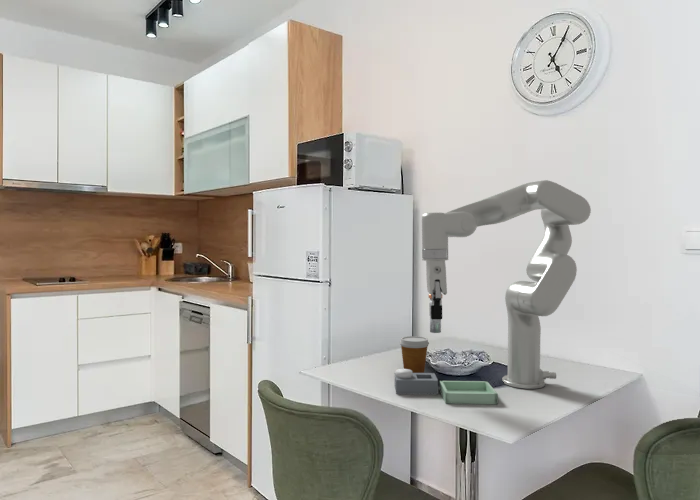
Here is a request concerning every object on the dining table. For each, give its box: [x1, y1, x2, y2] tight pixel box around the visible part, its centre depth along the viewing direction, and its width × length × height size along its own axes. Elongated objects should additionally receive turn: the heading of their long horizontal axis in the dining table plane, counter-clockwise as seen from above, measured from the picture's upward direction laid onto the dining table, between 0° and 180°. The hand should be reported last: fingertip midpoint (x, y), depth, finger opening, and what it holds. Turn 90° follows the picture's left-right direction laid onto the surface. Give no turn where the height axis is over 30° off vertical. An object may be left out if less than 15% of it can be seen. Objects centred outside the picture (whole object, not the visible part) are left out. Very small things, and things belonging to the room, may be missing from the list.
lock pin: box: [428, 293, 443, 334], centre depth 150 cm, size 4×4×11 cm
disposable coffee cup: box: [399, 335, 430, 373], centre depth 167 cm, size 10×10×12 cm
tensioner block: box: [394, 368, 439, 395], centre depth 152 cm, size 12×8×6 cm, turn 88°
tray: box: [438, 380, 499, 405], centre depth 145 cm, size 14×12×3 cm
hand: (435, 317), depth 150 cm, fingers closed on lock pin, 3 cm apart
